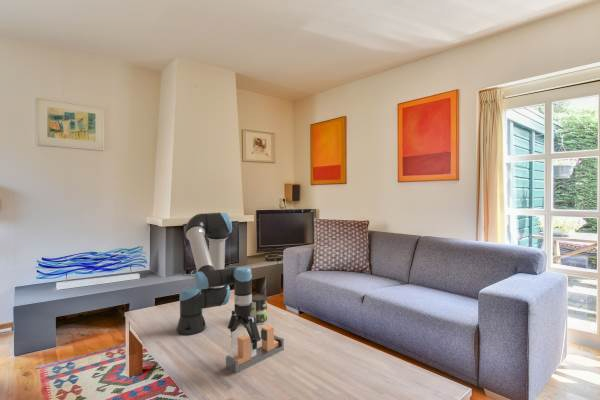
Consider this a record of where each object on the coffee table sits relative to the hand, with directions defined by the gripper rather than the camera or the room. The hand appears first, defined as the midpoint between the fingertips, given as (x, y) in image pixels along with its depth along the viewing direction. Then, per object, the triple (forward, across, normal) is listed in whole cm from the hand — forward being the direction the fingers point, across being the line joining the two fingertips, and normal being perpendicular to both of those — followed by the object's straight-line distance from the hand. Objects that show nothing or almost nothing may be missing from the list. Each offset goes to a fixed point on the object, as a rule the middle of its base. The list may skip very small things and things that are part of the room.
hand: (243, 350), depth 146 cm
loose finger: (+4, 0, -1) cm, 4 cm away
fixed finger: (+4, 0, +15) cm, 16 cm away
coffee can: (+7, -32, +35) cm, 48 cm away
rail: (+6, 0, +7) cm, 9 cm away
